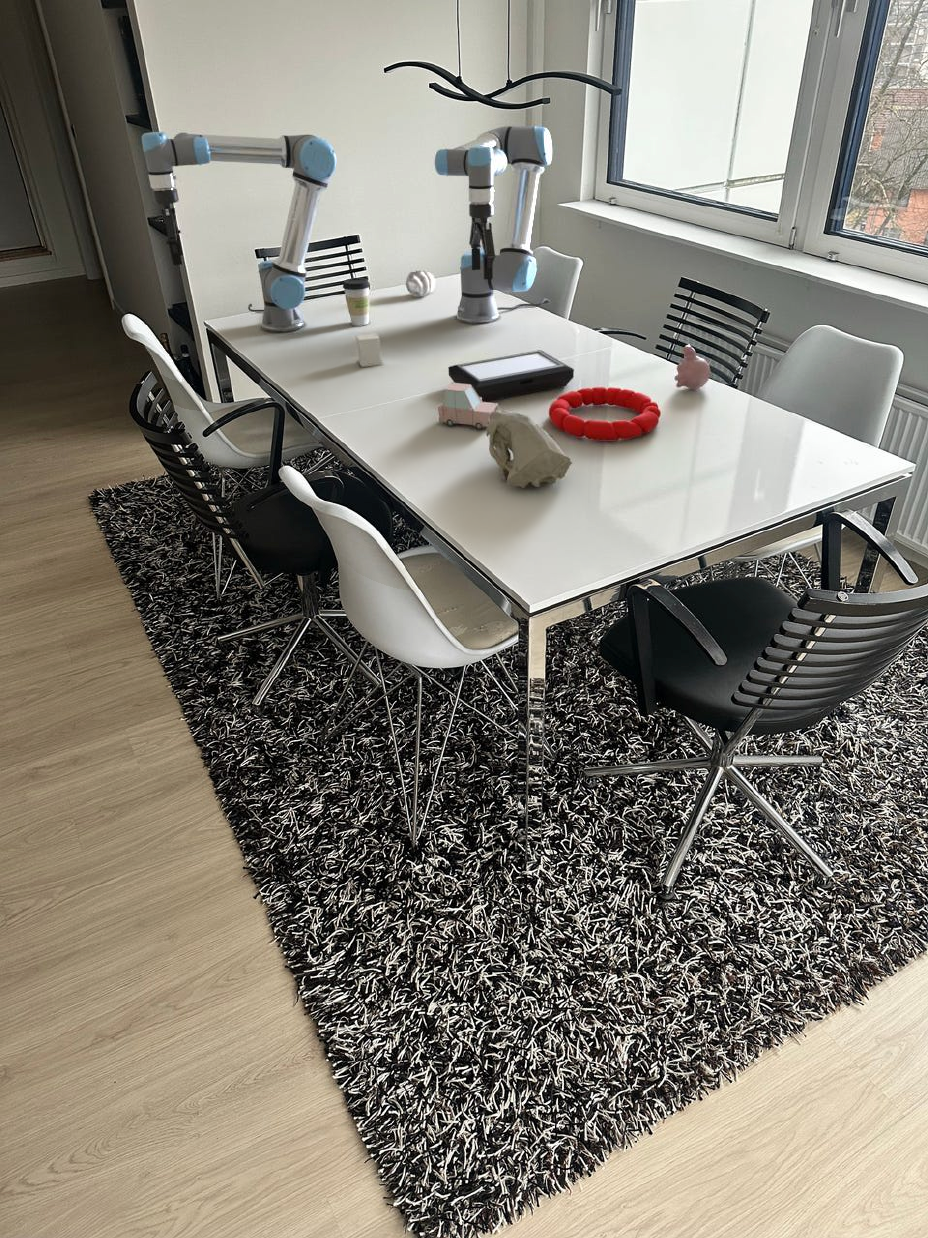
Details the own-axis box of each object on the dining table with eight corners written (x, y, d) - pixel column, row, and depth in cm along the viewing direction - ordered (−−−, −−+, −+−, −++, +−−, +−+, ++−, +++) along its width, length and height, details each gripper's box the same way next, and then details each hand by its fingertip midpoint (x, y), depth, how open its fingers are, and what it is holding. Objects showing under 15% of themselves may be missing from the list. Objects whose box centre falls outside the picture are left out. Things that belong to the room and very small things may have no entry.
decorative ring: (589, 435, 224) (684, 402, 234) (527, 398, 247) (617, 369, 256) (589, 461, 229) (683, 427, 238) (529, 422, 251) (617, 393, 260)
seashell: (399, 296, 356) (397, 270, 350) (432, 290, 362) (431, 264, 356) (410, 301, 348) (409, 275, 343) (444, 295, 354) (443, 269, 349)
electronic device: (476, 384, 253) (448, 364, 268) (476, 405, 256) (449, 384, 271) (574, 366, 263) (541, 347, 278) (573, 386, 266) (541, 367, 281)
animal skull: (496, 517, 219) (521, 479, 201) (463, 429, 225) (484, 384, 207) (557, 503, 225) (586, 465, 206) (523, 417, 231) (549, 373, 212)
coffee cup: (372, 326, 323) (368, 283, 314) (345, 327, 323) (340, 284, 315) (374, 318, 331) (371, 276, 322) (348, 319, 331) (344, 277, 323)
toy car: (488, 432, 240) (488, 396, 234) (436, 426, 244) (434, 390, 239) (499, 419, 247) (499, 384, 241) (448, 413, 252) (447, 379, 246)
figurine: (665, 387, 264) (669, 347, 257) (693, 380, 268) (698, 340, 261) (686, 396, 257) (690, 355, 250) (714, 388, 262) (720, 348, 255)
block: (361, 366, 287) (358, 339, 282) (358, 361, 292) (356, 334, 287) (381, 364, 289) (379, 337, 284) (378, 359, 293) (376, 332, 288)
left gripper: (175, 194, 269) (189, 267, 281) (177, 181, 289) (190, 250, 301) (149, 195, 268) (165, 269, 280) (153, 183, 288) (167, 252, 300)
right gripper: (505, 208, 267) (504, 281, 278) (481, 195, 287) (482, 264, 298) (481, 209, 265) (482, 283, 277) (458, 197, 285) (460, 266, 297)
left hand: (178, 259), depth 290 cm, fingers open, 13 cm apart
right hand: (482, 274), depth 288 cm, fingers open, 13 cm apart
